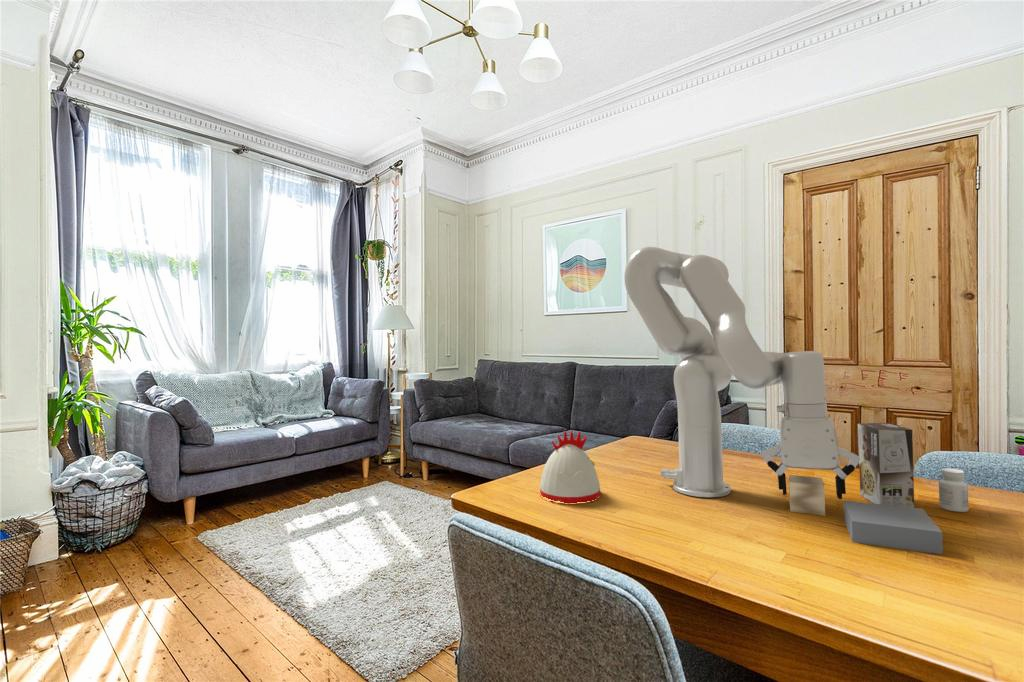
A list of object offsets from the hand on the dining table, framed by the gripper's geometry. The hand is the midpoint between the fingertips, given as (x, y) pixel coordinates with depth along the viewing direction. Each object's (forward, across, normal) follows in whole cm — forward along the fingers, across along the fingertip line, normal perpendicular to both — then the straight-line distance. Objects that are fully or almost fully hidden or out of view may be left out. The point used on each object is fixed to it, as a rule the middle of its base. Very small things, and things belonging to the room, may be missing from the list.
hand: (811, 495), depth 102 cm
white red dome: (+2, -49, -10) cm, 50 cm away
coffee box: (+4, +14, +11) cm, 18 cm away
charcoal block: (+4, +11, -10) cm, 15 cm away
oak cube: (+3, -1, 0) cm, 3 cm away
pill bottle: (+4, +25, +11) cm, 28 cm away
